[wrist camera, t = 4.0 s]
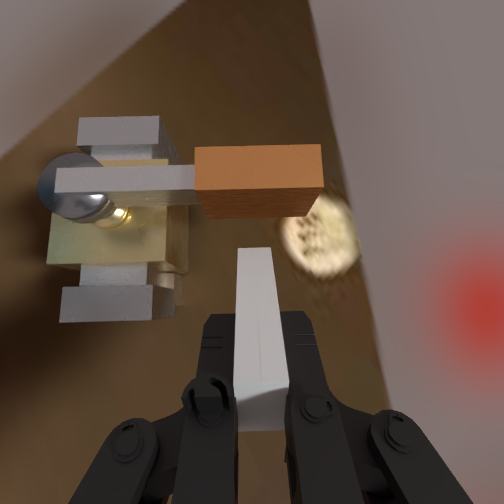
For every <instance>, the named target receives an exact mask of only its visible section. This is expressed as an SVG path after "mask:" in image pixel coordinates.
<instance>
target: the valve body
mask: <svg viewBox="0 0 504 504" xmlns="http://www.w3.org/2000/svg"><path fill="white" fill-rule="evenodd" d="M77 146H78V147H79V148H80V149H81V150H82V151H83V152H84V153H85V154H87V155H90V156H92V157H93V158H95V159H96V160H97V161H99V162H100V163H101V164H102V165H103V166H104V167H123V166H164V165H179V156H178V154H177V152H176V150H175V148H174V146H173V143H172V141H171V139H170V137H169V135H168V133H167V131H166V129H165V127H164V125H163V123H162V121H161V119H160V116H133V117H89V118H79V127H78V137H77ZM188 241H189V205H171V206H131V207H117V209H116V211H115V212H114V213H113V215H111V216H110V217H108V218H106V219H100V220H98V221H95V222H92V223H87V224H79V223H74V222H71V221H69V220H67V219H65V218H63V217H61V216H59V215H57V214H54V213H52V218H51V227H50V236H49V245H48V254H47V263H46V264H48V265H53V266H57V267H62V268H67V269H72V270H77V271H81V274H80V285H79V287H63V289H62V299H61V309H60V320H59V323H64V322H98V321H133V320H155V319H162V318H170V317H175V316H176V306H183V291H184V277H182V276H180V275H177V274H175V273H188Z"/></svg>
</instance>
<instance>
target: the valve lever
mask: <svg viewBox="0 0 504 504" xmlns="http://www.w3.org/2000/svg"><path fill="white" fill-rule="evenodd" d="M323 187H324V183H323V171H322V159H321V146H320V144H311V145H268V146H226V147H195V165H164V166H123V167H104V166H103V165H102V164H101V163H100V162H99V161H97V160H96V159H95V158H93V157H92V156H90V155H87V154H84V153H68V154H64V155H61V156H59V157H57V158H56V159H54V160H53V161H51V162H50V163H49V164H48V165H47V166H46V167H45V168H44V170H43V171H42V173H41V175H40V178H39V181H38V195H39V198H40V201H41V202H42V204H43V205H44V206H45V207H46V208H47V209H48V210H49V211H51V212H52V213H54V214H57V215H59V216H61V217H63V218H65V219H67V220H69V221H71V222H74V223H79V224H87V223H92V222H95V221H98V220H100V219H106V218H108V217H110V216H111V215H113V213H114V212H115V211H116V209H117V207H131V206H171V205H202V207H203V209H204V211H205V213H206V215H207V217H208V219H225V218H264V217H302V216H306V215H307V214H308V212H309V210H310V209H311V207H312V205H313V204H314V202H315V201H316V199H317V197H318V196H319V194H320V192H321V191H322V189H323Z"/></svg>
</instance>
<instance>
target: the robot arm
mask: <svg viewBox="0 0 504 504" xmlns="http://www.w3.org/2000/svg"><path fill="white" fill-rule="evenodd" d="M181 399H182V402H183V405H184V407H183V408H182V409H180V410H179V411H178V412H176V413H174V414H172V415H170V416H167V417H165V418H162V419H159V420H157V421H154V422H151V423H150V422H149V421H147V420H145V419H143V418H133V419H130V420H127V421H124V422H122V423H121V424H120V425H118V426H117V427H116V428H115V429H113V431H112V432H111V433H110V434H109V436H108V437H107V438H106V440H105V441H104V443H103V445H102V447H101V448H100V450H99V452H98V453H97V455H96V457H95V459H94V460H93V462H92V464H91V465H90V467H89V469H88V471H87V472H86V474H85V476H84V478H83V479H82V481H81V483H80V484H79V486H78V488H77V490H76V491H75V493H74V495H73V496H72V498H71V500H70V502H69V503H68V504H167V501H168V498H169V495H171V494H173V496H172V502H171V504H238V456H239V453H238V431H265V430H284V428H285V434H286V450H285V462H287V470H288V479H289V489H290V499H291V504H364V503H365V504H473V502H472V501H471V499H470V498H469V496H468V495H467V494H466V492H465V491H464V490H463V488H462V487H461V485H460V484H459V483H458V481H457V480H456V478H455V477H454V475H453V474H452V473H451V471H450V470H449V468H448V467H447V466H446V464H445V463H444V461H443V460H442V458H441V457H440V456H439V454H438V453H437V451H436V450H435V448H434V447H433V446H432V444H431V443H430V441H429V440H428V439H427V437H426V436H425V434H424V433H423V432H422V430H421V429H420V428H419V426H418V425H417V424H416V423H415V422H414V421H413V420H412V419H411V418H409V417H408V416H406V415H404V414H403V413H401V412H398V411H394V410H382V411H380V412H379V413H377V414H375V416H374V415H371V414H368V413H365V412H361V411H358V410H355V409H352V408H350V407H347V406H345V405H344V404H342V403H341V402H339V401H338V400H337V399H336V398H335V397H334V396H333V394H332V393H331V391H330V390H329V387H328V385H327V382H326V378H325V374H324V370H323V366H322V362H321V358H320V354H319V350H318V347H317V343H316V339H315V336H314V331H313V327H312V323H311V321H310V319H309V318H308V317H307V315H306V314H305V313H304V312H303V311H285V312H279V305H278V297H277V290H276V283H275V276H274V269H273V261H272V254H271V247H270V248H238V264H237V292H236V314H211V315H210V317H209V318H208V320H207V321H206V323H205V324H204V329H203V335H202V342H201V350H200V355H199V361H198V368H197V374H196V378H195V379H193V380H191V382H190V383H189V384H188V385H187V386H186V387H185V389H184V392H183V394H182V397H181Z"/></svg>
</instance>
